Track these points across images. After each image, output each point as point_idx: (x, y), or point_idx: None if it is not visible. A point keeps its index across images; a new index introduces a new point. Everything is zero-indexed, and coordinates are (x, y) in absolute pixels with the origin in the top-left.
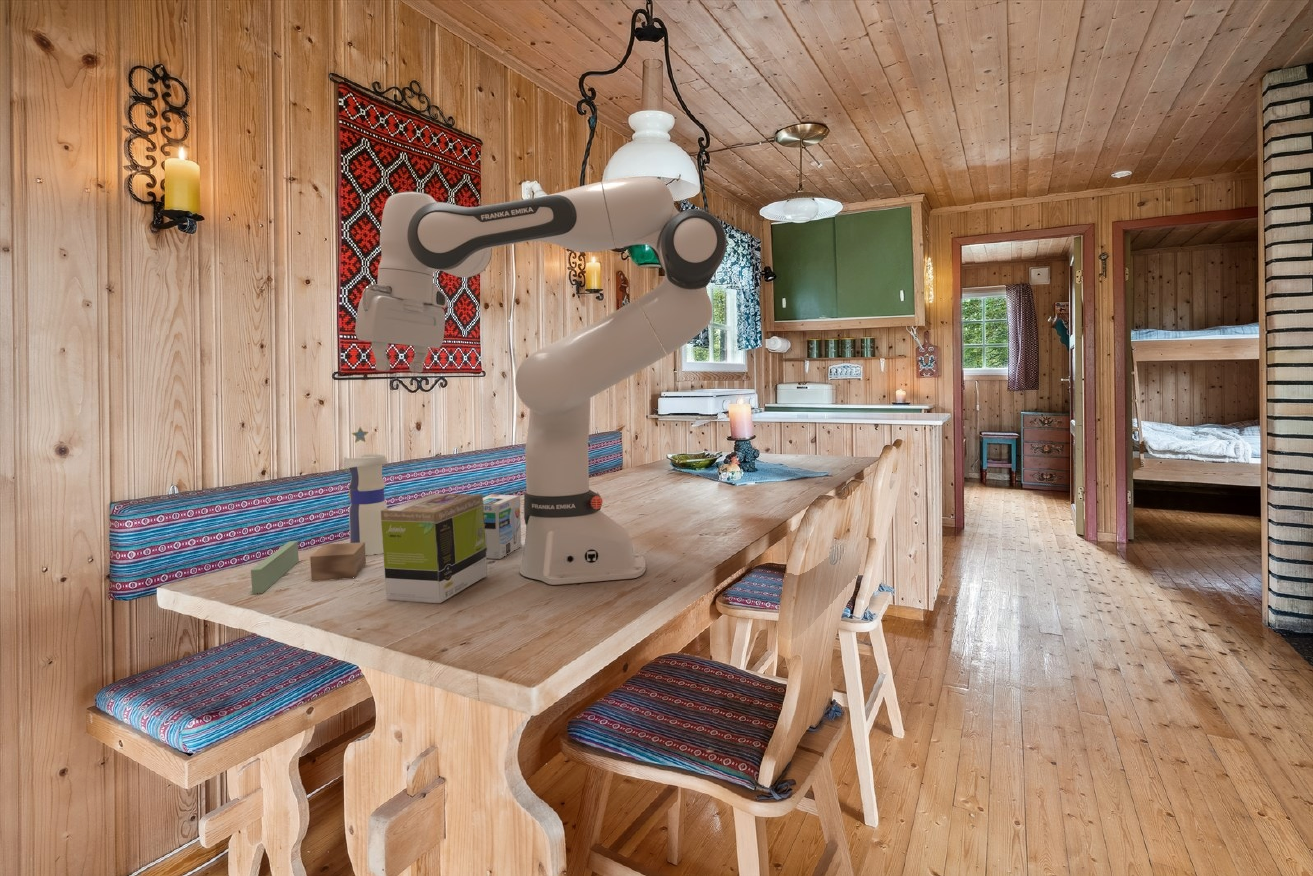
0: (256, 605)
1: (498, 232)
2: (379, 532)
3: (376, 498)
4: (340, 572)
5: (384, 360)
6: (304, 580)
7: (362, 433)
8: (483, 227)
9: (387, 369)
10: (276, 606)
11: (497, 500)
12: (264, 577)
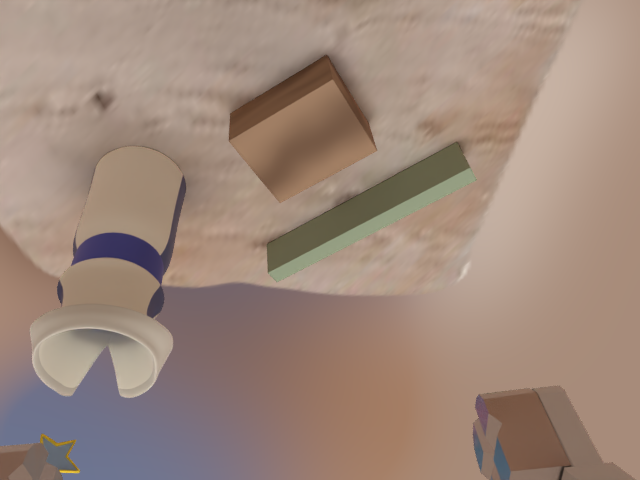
0: (520, 95)
1: None
2: (137, 179)
3: (120, 241)
4: (343, 85)
5: (602, 462)
6: None
7: None
8: None
9: (519, 391)
10: (524, 55)
11: None
12: (449, 163)
